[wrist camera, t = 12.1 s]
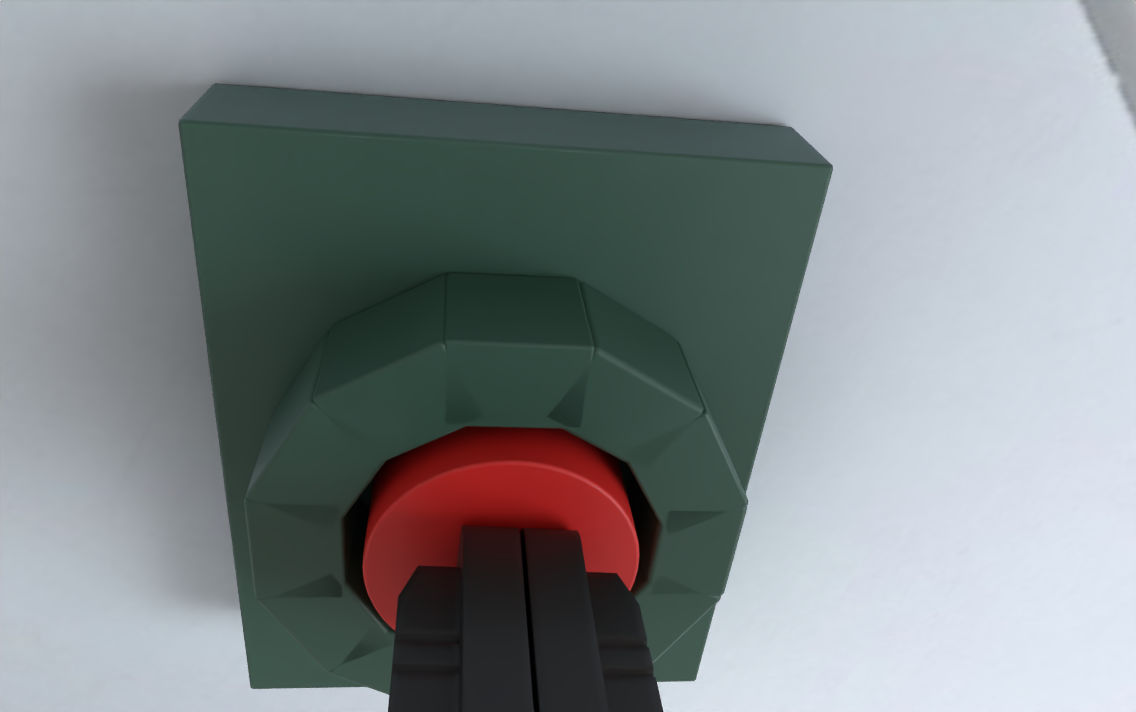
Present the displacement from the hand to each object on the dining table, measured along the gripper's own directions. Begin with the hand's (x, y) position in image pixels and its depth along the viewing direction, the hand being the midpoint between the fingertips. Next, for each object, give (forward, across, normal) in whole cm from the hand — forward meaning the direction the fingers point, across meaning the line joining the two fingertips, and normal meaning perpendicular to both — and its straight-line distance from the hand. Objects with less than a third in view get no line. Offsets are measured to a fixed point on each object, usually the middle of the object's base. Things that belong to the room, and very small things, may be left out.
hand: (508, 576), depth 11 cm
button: (+2, 0, 0) cm, 2 cm away
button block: (+4, 0, 0) cm, 4 cm away
